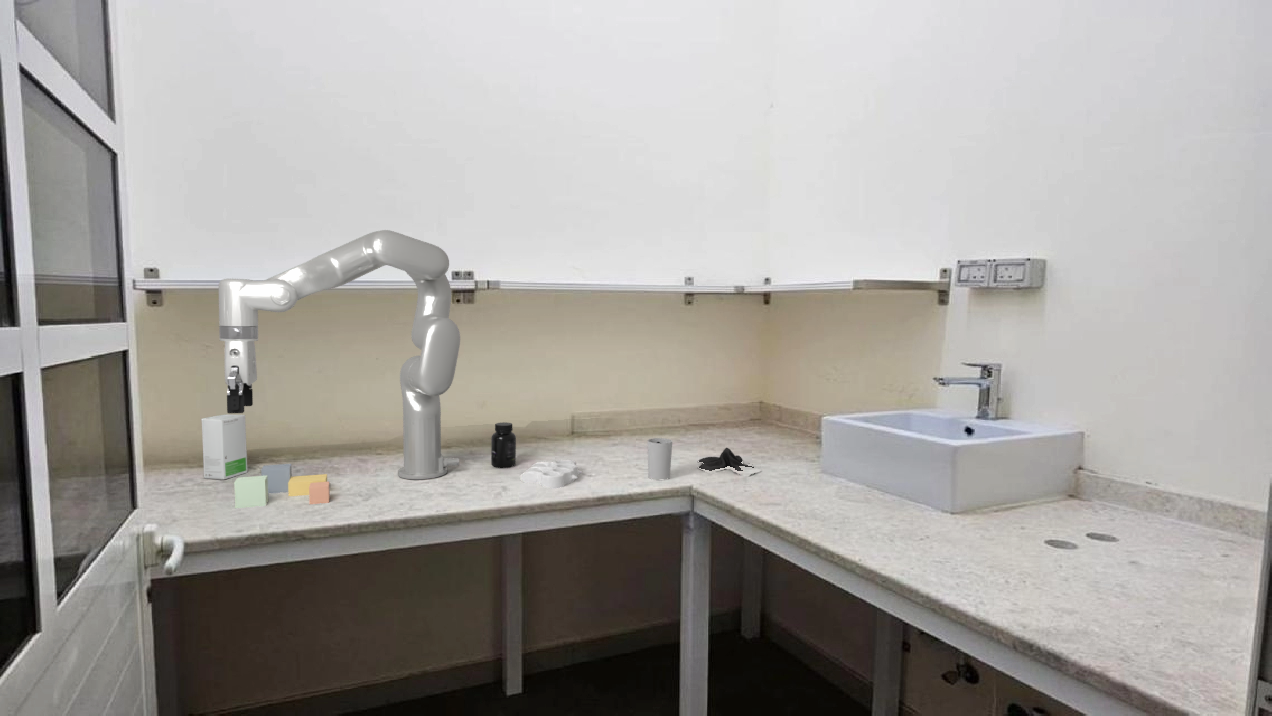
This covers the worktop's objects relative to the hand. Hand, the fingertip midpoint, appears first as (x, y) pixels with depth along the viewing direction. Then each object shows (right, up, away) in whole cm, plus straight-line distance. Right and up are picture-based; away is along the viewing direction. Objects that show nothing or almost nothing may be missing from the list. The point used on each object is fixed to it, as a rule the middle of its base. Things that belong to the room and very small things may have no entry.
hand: (240, 409), depth 153 cm
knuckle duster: (+68, -21, +26) cm, 75 cm away
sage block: (+3, -22, 0) cm, 22 cm away
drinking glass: (+96, -21, +28) cm, 102 cm away
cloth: (+116, -20, +42) cm, 125 cm away
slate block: (+3, -21, +10) cm, 23 cm away
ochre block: (+10, -21, +10) cm, 25 cm away
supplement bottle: (+52, -19, +38) cm, 67 cm away
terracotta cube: (+17, -22, +3) cm, 27 cm away
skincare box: (-17, -19, +23) cm, 34 cm away
